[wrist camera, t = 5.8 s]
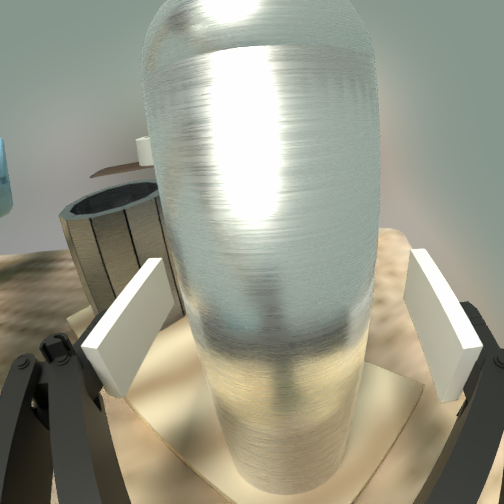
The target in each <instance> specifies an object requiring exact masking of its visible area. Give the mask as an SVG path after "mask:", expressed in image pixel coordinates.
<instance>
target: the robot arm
mask: <svg viewBox="0 0 504 504" xmlns="http://www.w3.org/2000/svg"><path fill="white" fill-rule="evenodd" d="M12 206H13V200H12V193H11V187H10V181H9V175H8V168H7V161H6V154H5V147H4V142H3V139H2V138H0V218H1V217H3V216H5V215H7V214H8V213H9V212H10V211H11V209H12ZM403 299H404V301H405V304H406V306H407V309H408V311H409V314H410V316H411V319H412V322H413V324H414V327H415V330H416V332H417V335H418V338H419V341H420V343H421V346H422V349H423V352H424V355H425V358H426V361H427V364H428V367H429V370H430V373H431V376H432V379H433V382H434V385H435V388H436V392H437V395H438V398H439V402H440V403H444V402H450V401H455V400H458V399H459V397H460V395H461V393H462V391H464V394H465V396H466V399H465V401H464V403H463V405H462V407H461V408H460V410H459V412H458V414H457V415H456V416H458V417H457V420H456V422H455V425H454V427H453V429H452V431H451V433H450V436H449V438H448V440H447V442H446V444H445V446H444V448H443V450H442V452H441V454H440V456H439V458H438V460H437V462H436V464H435V466H434V468H433V470H432V472H431V473H430V475H429V477H428V479H427V481H426V482H425V484H424V486H423V488H422V489H421V491H420V493H419V494H418V496H417V498H416V499H415V501H414V502H413V504H476V503H477V501H478V499H479V497H480V495H481V492H482V490H483V488H484V485H485V483H486V480H487V478H488V475H489V473H490V470H491V467H492V465H493V462H494V459H495V456H496V453H497V450H498V447H499V444H500V441H501V438H502V434H503V431H504V349H501V348H500V347H499V346H498V344H497V342H496V340H495V338H494V337H493V335H492V333H491V331H490V330H489V328H488V326H486V323H485V321H484V320H483V319H482V316H481V315H480V313H479V311H478V310H477V308H475V307H474V306H473V305H472V304H471V303H469V302H459V301H458V300H457V298H456V296H455V295H454V293H453V291H452V290H451V288H450V287H449V285H448V284H447V282H446V280H445V279H444V277H443V276H442V274H441V272H440V271H439V269H438V268H437V266H436V265H435V263H434V261H433V260H432V258H431V257H430V256H429V254H428V253H427V251H426V250H425V249H410V256H409V264H408V271H407V278H406V285H405V291H404V297H403ZM173 305H174V299H173V296H172V292H171V289H170V285H169V281H168V278H167V274H166V270H165V266H164V263H163V259H162V258H149V259H148V260H147V261H146V262H145V264H144V265H143V266H142V267H141V268H140V270H139V271H138V272H137V273H136V275H135V276H134V277H133V278H132V280H131V281H130V282H129V283H128V285H127V286H126V287H125V288H124V290H123V291H122V292H121V293H120V295H119V296H118V297H117V299H116V300H115V301H114V302H113V304H112V305H111V306H110V308H109V309H104V310H103V311H102V312H100V313H99V314H97V315H96V316H95V318H94V319H93V320H92V322H91V324H89V326H88V327H87V328H86V330H85V331H84V332H83V333H82V335H81V336H80V337H79V339H78V340H77V341H76V343H75V344H74V345H73V346H72V344H71V342H70V340H69V338H68V336H67V335H66V334H64V333H56V334H52V335H50V336H48V337H47V338H46V339H44V340H43V342H42V343H41V345H40V348H39V349H40V350H41V352H42V354H43V356H44V357H45V359H46V361H47V362H38V361H37V359H36V357H35V356H34V355H33V354H28V353H27V354H24V355H21V356H19V357H18V358H17V359H16V360H15V361H14V362H13V364H12V366H11V369H10V371H9V374H8V376H7V379H6V381H5V384H4V387H3V389H2V392H1V395H0V504H50V501H51V488H52V477H53V468H54V475H55V482H56V489H57V495H58V501H59V504H131V501H130V499H129V496H128V493H127V490H126V487H125V483H124V480H123V477H122V474H121V471H120V467H119V464H118V460H117V457H116V453H115V449H114V445H113V442H112V438H111V434H110V429H109V425H108V421H107V416H106V412H105V407H104V402H103V398H102V396H101V394H100V393H99V392H100V390H101V389H102V387H104V388H105V390H106V392H107V393H108V395H110V396H115V397H120V398H125V396H126V394H127V392H128V390H129V388H130V386H131V384H132V382H133V380H134V378H135V376H136V374H137V372H138V370H139V368H140V366H141V365H142V363H143V361H144V359H145V357H146V355H147V353H148V351H149V349H150V348H151V346H152V344H153V342H154V340H155V338H156V336H157V334H158V333H159V331H160V329H161V327H162V325H163V323H164V321H165V320H166V318H167V316H168V314H169V312H170V311H171V309H172V307H173ZM32 400H33V402H34V407H32V406H31V401H32ZM499 504H504V469H503V477H502V485H501V492H500V498H499Z"/></svg>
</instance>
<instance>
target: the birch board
mask: <svg viewBox="0 0 504 504" xmlns="http://www.w3.org/2000/svg"><path fill="white" fill-rule="evenodd" d="M94 318H95V315H94V313H93V310H92V308H91V305H90V306H88V307H86V308H84V309H82V310H81V311H79V312H77V313H75V314H73V315H71V316H70V317H68V318H66V320H67V322H68V324H69V326H70V328H71V330H72V331H73V333H74V334H75V336H76V337H77V339H79V337H80V336H81V335H82V333H83V332H84V331H85V330H86V328H87V327H88V326H89V324H91V322H92V320H93V319H94ZM424 386H425V385H424V384H421V383H419V382H416V381H414V380H411V379H409V378H406V377H403V376H401V375H398V374H396V373H393V372H391V371H388V370H386V369H383V368H381V367H378V366H376V365H374V364H371V363H369V362H366V361H364V364H363V370H362V375H361V380H360V386H359V391H358V396H357V401H356V405H355V410H354V415H353V419H352V424H351V428H350V432H349V436H348V440H347V444H346V448H345V452H344V456H343V459H342V462H341V464H340V466H339V468H338V469H337V471H336V472H335V473H334V474H333V476H332V477H330V478H329V479H328V480H327V481H326V482H325V483H323V484H322V485H320V486H318V487H317V488H315V489H312V490H310V491H307V492H304V493H300V494H293V495H278V494H272V493H267V492H264V491H261V490H259V489H257V488H255V487H253V486H252V485H250V484H249V483H247V482H246V481H245V480H244V479H243V478H242V477H241V476H240V474H239V473H238V471H237V470H236V468H235V466H234V463H233V460H232V458H231V455H230V452H229V449H228V447H227V444H226V441H225V438H224V435H223V432H222V429H221V426H220V423H219V420H218V417H217V414H216V411H215V408H214V405H213V402H212V399H211V396H210V393H209V389H208V386H207V383H206V380H205V376H204V373H203V370H202V366H201V363H200V360H199V356H198V353H197V349H196V346H195V342H194V339H193V335H192V332H191V328H190V324H189V321H188V317H187V314H186V315H185V316H184V317H183V318H182V319H180V320H178V321H177V322H175V323H174V324H172V325H170V326H169V327H167V328H166V329H164V330H162V331H161V330H160V332H159V333H158V334H157V336H156V338H155V340H154V342H153V344H152V346H151V348H150V349H149V351H148V353H147V355H146V357H145V359H144V361H143V363H142V365H141V366H140V368H139V370H138V372H137V374H136V376H135V378H134V380H133V382H132V384H131V386H130V388H129V390H128V392H127V394H126V396H125V398H124V400H125V401H126V402H127V403H128V404H129V405H130V407H131V408H132V409H133V410H134V411H135V412H136V413H137V415H138V416H139V417H140V418H141V419H142V420H143V421H144V422H145V423H146V424H147V426H148V427H149V428H150V429H151V430H152V431H153V432H154V433H155V434H156V435H157V436H158V437H159V438H160V439H161V440H162V441H163V442H164V443H165V444H166V445H167V446H168V447H169V448H170V449H171V450H172V451H173V452H174V453H175V454H176V455H177V456H178V457H179V458H180V459H181V460H182V461H183V462H184V463H185V464H186V465H187V466H189V467H190V468H191V469H192V470H193V471H194V472H195V473H196V474H197V475H198V476H200V477H201V478H202V479H203V480H204V481H205V482H206V483H208V484H209V485H210V486H211V487H212V488H213V489H215V490H216V491H217V492H218V493H219V494H221V495H222V496H223V497H224V498H226V499H227V500H228V501H229V502H231V503H232V504H352V503H353V502H354V501H355V499H356V498H357V497H358V495H359V494H360V493H361V491H362V490H363V489H364V487H365V486H366V485H367V483H368V482H369V480H370V479H371V478H372V476H373V475H374V473H375V472H376V470H377V469H378V467H379V466H380V464H381V463H382V461H383V460H384V458H385V457H386V455H387V454H388V452H389V451H390V449H391V448H392V446H393V444H394V443H395V441H396V439H397V438H398V436H399V434H400V433H401V431H402V429H403V428H404V426H405V424H406V423H407V421H408V419H409V417H410V415H411V414H412V412H413V410H414V408H415V406H416V404H417V402H418V401H419V399H420V396H421V394H422V391H423V389H424Z"/></svg>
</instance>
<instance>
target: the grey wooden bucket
mask: <svg viewBox="0 0 504 504" xmlns="http://www.w3.org/2000/svg"><path fill="white" fill-rule="evenodd" d="M59 218H60V222H61V225H62V228H63V231H64V235H65V238H66V241H67V244H68V247H69V250H70V253H71V256H72V259H73V261H74V264H75V267H76V270H77V272H78V275H79V278H80V280H81V283H82V286H83V288H84V291H85V293H86V296H87V298H88V301H89V303H90V305H91V308H92V310H93V313H94V315H95V316H96V315H97V314H99V313H100V312H102V311H103V310H104V309H109V308H110V306H111V305H112V304H113V302H114V301H115V300H116V299H117V297H118V296H119V295H120V293H121V292H122V291H123V290H124V288H125V287H126V286H127V285H128V283H129V282H130V281H131V280H132V278H133V277H134V276H135V275H136V273H137V272H138V271H139V270H140V268H141V267H142V266H143V265H144V264H145V262H146V261H147V260H148V259H149V258H162V259H163V263H164V266H165V270H166V274H167V278H168V281H169V285H170V289H171V292H172V296H173V299H174V305H173V307H172V309H171V311H170V312H169V314H168V316H167V318H166V320H165V321H164V323H163V325H162V327H161V329H160V330H161V331H162V330H164V329H166V328H167V327H169V326H170V325H172V324H174V323H175V322H177V321H178V320H180V319H182V318H183V317H184V316H185V315H186V314H187V313H186V309H185V305H184V301H183V298H182V294H181V290H180V286H179V282H178V277H177V273H176V269H175V265H174V261H173V256H172V252H171V248H170V243H169V239H168V234H167V229H166V225H165V220H164V215H163V210H162V205H161V200H160V195H159V190H158V185H157V179H149V180H140V181H133V182H128V183H123V184H119V185H115V186H112V187H108V188H105V189H102V190H100V191H97V192H94V193H92V194H89V195H86V196H84V197H82V198H80V199H78V200H77V201H75V202H73V203H71V204H70V205H68V206H66V207H65V208H64V209H63V211H62V212H61V213H60V214H59ZM159 332H160V331H159Z"/></svg>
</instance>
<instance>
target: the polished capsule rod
mask: <svg viewBox="0 0 504 504" xmlns="http://www.w3.org/2000/svg"><path fill="white" fill-rule="evenodd" d="M140 65H141V83H142V90H143V98H144V106H145V113H146V120H147V126H148V133H149V139H150V145H151V151H152V157H153V163H154V168H155V173H156V179H157V185H158V190H159V195H160V200H161V205H162V210H163V215H164V220H165V225H166V229H167V234H168V239H169V243H170V248H171V252H172V256H173V261H174V265H175V269H176V273H177V277H178V282H179V286H180V290H181V294H182V298H183V301H184V305H185V309H186V313H187V317H188V321H189V324H190V328H191V332H192V335H193V339H194V342H195V346H196V349H197V353H198V356H199V360H200V363H201V366H202V370H203V373H204V376H205V380H206V383H207V386H208V389H209V393H210V396H211V399H212V402H213V405H214V408H215V411H216V414H217V417H218V420H219V423H220V426H221V429H222V432H223V435H224V438H225V441H226V444H227V447H228V449H229V452H230V455H231V458H232V460H233V463H234V466H235V468H236V470H237V471H238V473H239V474H240V476H241V477H242V478H243V479H244V480H245V481H246V482H247V483H249V484H250V485H252V486H253V487H255V488H257V489H259V490H261V491H264V492H267V493H272V494H278V495H293V494H300V493H304V492H307V491H310V490H312V489H315V488H317V487H318V486H320V485H322V484H323V483H325V482H326V481H327V480H328V479H329V478H330V477H332V476H333V474H334V473H335V472H336V471H337V469H338V468H339V466H340V464H341V462H342V459H343V456H344V452H345V448H346V444H347V440H348V436H349V432H350V428H351V424H352V419H353V415H354V410H355V405H356V401H357V396H358V391H359V386H360V380H361V375H362V370H363V364H364V358H365V352H366V345H367V339H368V332H369V325H370V317H371V310H372V301H373V292H374V283H375V272H376V261H377V247H378V231H379V210H380V125H379V104H378V89H377V76H376V65H375V56H374V51H373V46H372V42H371V39H370V36H369V33H368V30H367V28H366V26H365V24H364V22H363V20H362V18H361V17H360V15H359V13H358V12H357V10H356V9H355V8H354V6H353V5H352V4H351V2H350V1H349V0H166V1H165V2H164V3H163V4H162V6H161V7H160V9H159V10H158V12H157V13H156V15H155V16H154V18H153V20H152V22H151V24H150V26H149V28H148V31H147V33H146V36H145V39H144V43H143V47H142V54H141V62H140Z"/></svg>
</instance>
